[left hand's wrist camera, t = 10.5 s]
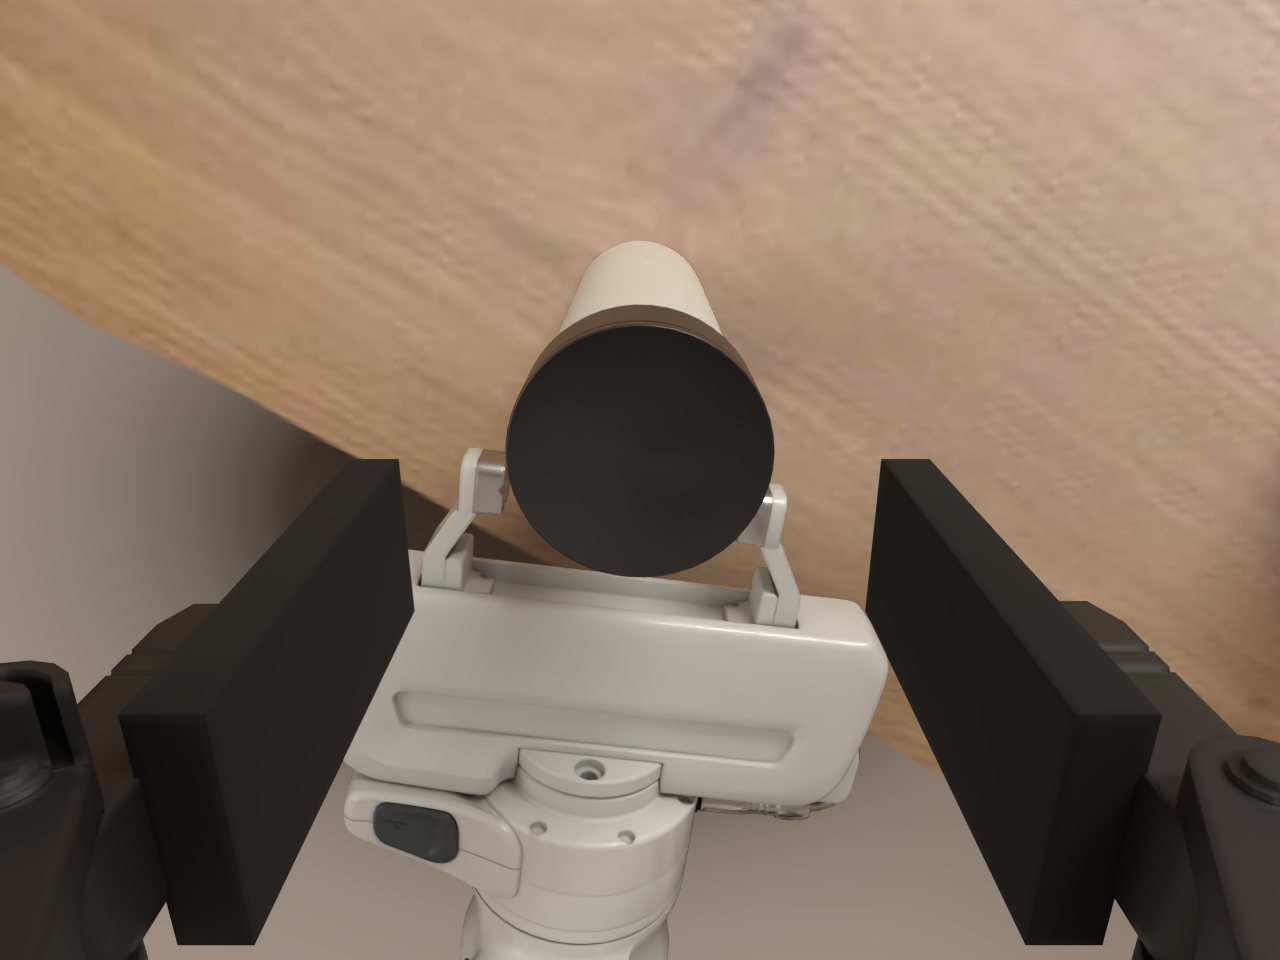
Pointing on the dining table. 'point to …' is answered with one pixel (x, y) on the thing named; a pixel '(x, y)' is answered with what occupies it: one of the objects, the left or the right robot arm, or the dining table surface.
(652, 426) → the lid
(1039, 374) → the dining table surface
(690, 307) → the cream bottle
